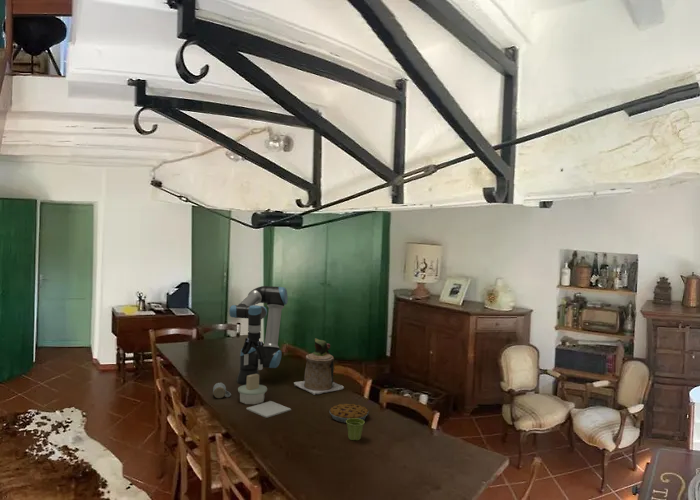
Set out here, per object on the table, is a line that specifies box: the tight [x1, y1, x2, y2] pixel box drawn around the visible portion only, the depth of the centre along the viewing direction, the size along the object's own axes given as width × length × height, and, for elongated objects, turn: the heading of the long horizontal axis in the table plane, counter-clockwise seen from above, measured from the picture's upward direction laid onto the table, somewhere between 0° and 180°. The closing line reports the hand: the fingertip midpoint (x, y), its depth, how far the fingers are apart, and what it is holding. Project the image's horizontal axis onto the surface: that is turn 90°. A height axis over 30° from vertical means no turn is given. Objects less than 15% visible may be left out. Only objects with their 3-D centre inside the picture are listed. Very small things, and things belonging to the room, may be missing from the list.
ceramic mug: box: [212, 382, 232, 399], centre depth 329 cm, size 11×8×8 cm
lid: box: [237, 373, 268, 395], centre depth 325 cm, size 17×17×9 cm
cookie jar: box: [293, 338, 345, 396], centre depth 354 cm, size 25×25×32 cm
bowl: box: [239, 392, 266, 405], centre depth 325 cm, size 14×14×6 cm
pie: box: [329, 403, 369, 424], centre depth 304 cm, size 22×22×5 cm
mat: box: [246, 400, 292, 419], centre depth 310 cm, size 18×18×1 cm
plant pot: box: [346, 418, 366, 441], centre depth 275 cm, size 9×9×9 cm
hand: (253, 367), depth 324 cm, fingers open, 13 cm apart
